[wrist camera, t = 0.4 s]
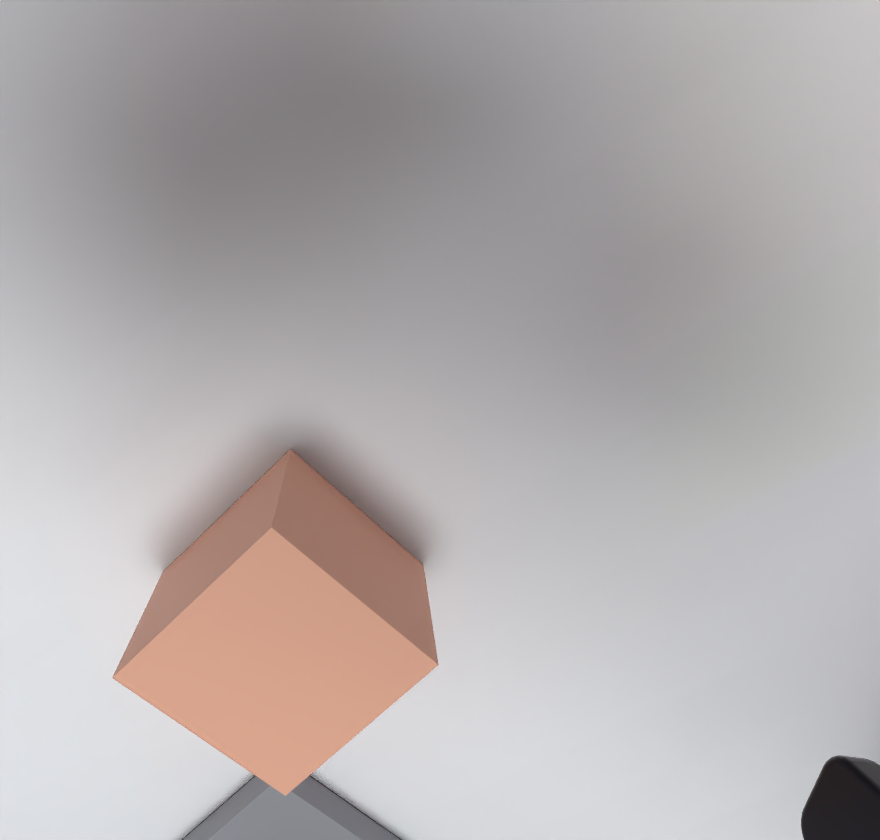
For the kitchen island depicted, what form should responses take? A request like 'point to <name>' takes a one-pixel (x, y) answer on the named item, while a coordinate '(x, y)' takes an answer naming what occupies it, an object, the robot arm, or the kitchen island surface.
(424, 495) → the kitchen island surface
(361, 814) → the baseplate
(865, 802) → the robot arm
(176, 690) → the terracotta block
